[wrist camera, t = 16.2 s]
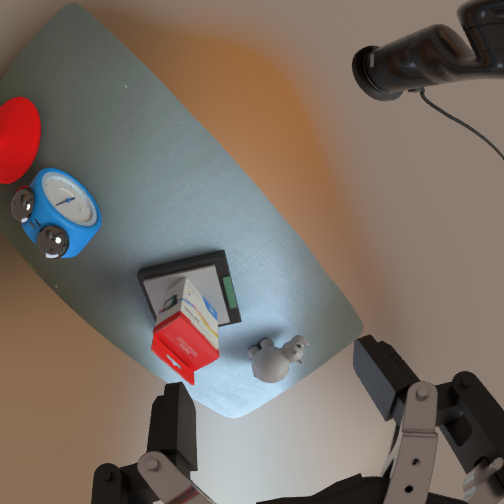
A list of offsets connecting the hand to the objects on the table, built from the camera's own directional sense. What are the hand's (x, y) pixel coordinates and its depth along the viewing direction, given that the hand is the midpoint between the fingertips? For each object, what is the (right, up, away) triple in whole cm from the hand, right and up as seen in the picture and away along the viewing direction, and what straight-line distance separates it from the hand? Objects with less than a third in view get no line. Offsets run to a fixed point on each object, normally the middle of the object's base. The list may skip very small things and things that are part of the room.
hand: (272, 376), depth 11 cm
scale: (-12, -2, +36) cm, 37 cm away
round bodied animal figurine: (+4, -13, +42) cm, 44 cm away
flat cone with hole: (-43, +26, +20) cm, 55 cm away
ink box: (-11, -3, +33) cm, 35 cm away
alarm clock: (-30, +14, +27) cm, 43 cm away
